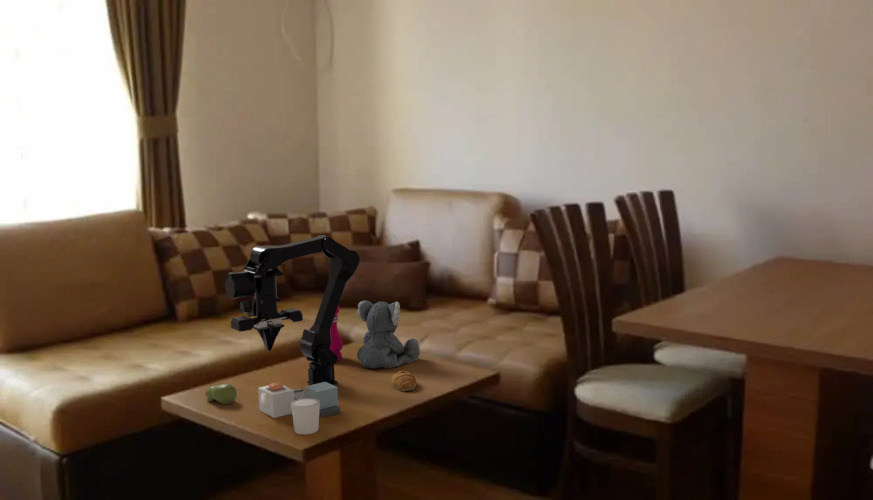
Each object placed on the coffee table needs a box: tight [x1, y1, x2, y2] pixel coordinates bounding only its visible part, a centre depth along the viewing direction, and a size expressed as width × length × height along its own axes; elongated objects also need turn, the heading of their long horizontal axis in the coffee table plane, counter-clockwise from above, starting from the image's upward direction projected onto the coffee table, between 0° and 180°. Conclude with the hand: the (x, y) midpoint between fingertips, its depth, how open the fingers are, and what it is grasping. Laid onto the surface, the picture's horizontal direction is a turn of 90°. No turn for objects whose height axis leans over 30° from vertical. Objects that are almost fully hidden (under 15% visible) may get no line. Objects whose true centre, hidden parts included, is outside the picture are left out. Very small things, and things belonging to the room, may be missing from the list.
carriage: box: [304, 382, 339, 417], centre depth 228 cm, size 6×6×6 cm
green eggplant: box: [205, 383, 238, 405], centre depth 238 cm, size 6×5×10 cm
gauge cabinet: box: [257, 384, 295, 419], centre depth 228 cm, size 6×8×6 cm
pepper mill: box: [330, 305, 344, 362], centre depth 275 cm, size 7×7×20 cm
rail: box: [293, 388, 341, 419], centre depth 233 cm, size 5×20×2 cm, turn 38°
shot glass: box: [291, 398, 320, 435], centre depth 215 cm, size 7×7×7 cm
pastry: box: [390, 370, 418, 392], centre depth 247 cm, size 9×7×4 cm
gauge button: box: [268, 382, 284, 392], centre depth 228 cm, size 4×4×6 cm
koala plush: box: [356, 300, 420, 370], centre depth 270 cm, size 17×18×20 cm
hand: (268, 350), depth 240 cm, fingers closed
